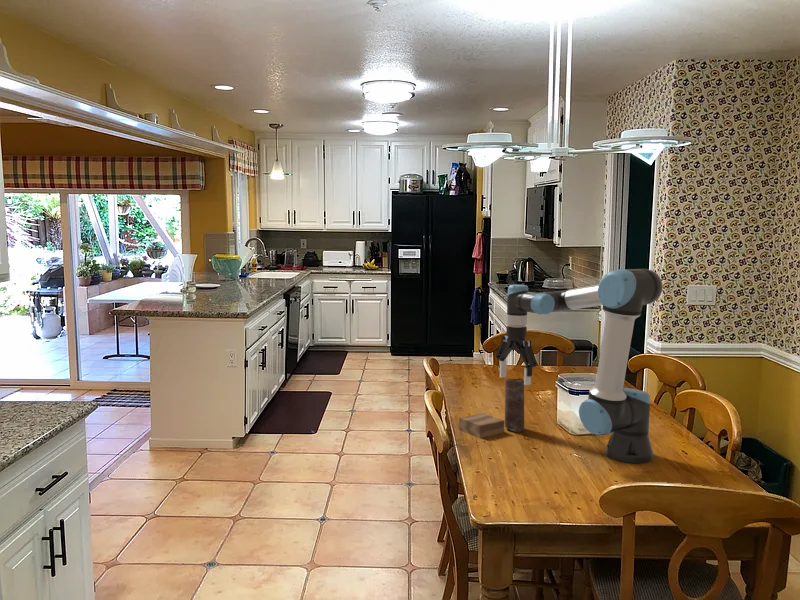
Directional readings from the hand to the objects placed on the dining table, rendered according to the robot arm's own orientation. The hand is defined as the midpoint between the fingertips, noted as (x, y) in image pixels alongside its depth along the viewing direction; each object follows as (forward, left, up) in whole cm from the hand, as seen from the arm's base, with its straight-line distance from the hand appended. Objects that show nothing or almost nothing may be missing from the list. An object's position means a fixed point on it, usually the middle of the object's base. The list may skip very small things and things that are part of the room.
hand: (514, 380), depth 248 cm
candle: (0, 0, -19) cm, 19 cm away
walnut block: (+5, +12, -19) cm, 23 cm away
